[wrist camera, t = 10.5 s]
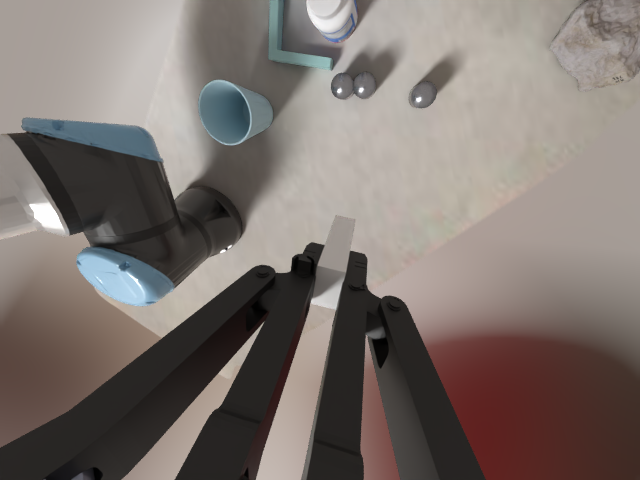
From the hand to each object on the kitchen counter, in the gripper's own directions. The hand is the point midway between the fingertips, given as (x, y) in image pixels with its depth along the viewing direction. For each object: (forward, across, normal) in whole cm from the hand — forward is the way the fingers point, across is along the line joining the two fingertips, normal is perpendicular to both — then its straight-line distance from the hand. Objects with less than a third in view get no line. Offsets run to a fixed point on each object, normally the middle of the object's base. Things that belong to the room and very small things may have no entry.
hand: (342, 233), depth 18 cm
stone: (+27, +24, +19) cm, 40 cm away
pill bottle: (+27, -7, +18) cm, 33 cm away
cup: (+27, -19, +5) cm, 33 cm away
